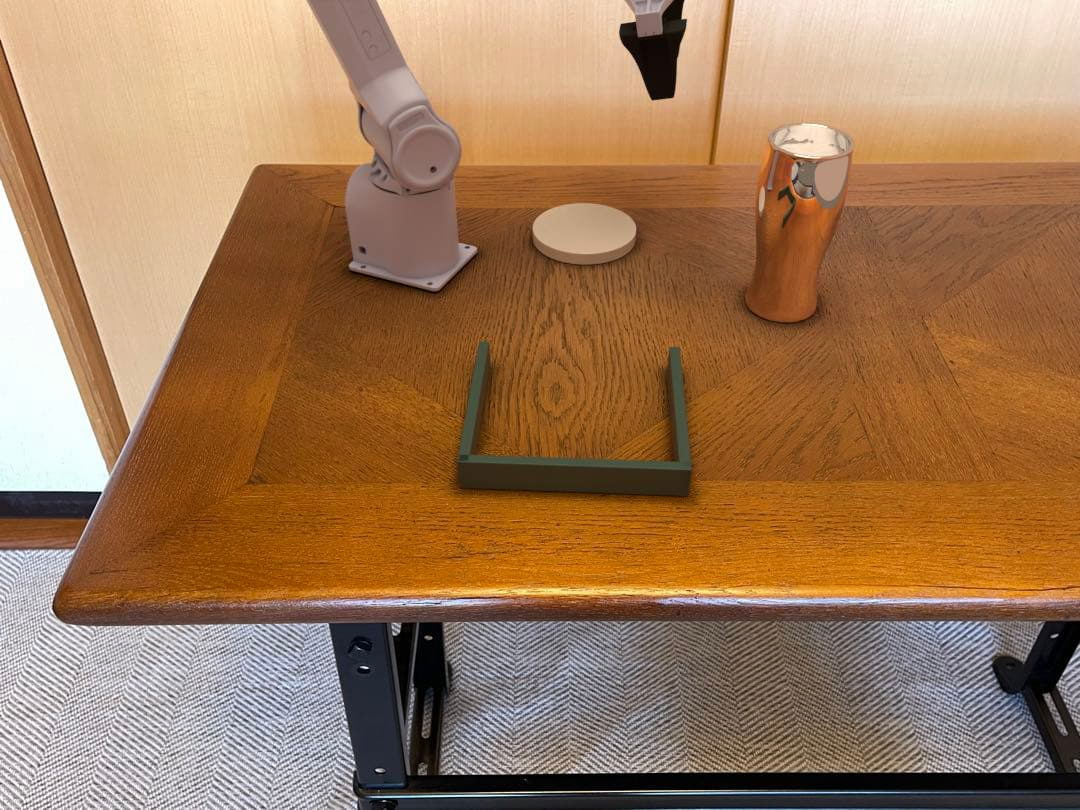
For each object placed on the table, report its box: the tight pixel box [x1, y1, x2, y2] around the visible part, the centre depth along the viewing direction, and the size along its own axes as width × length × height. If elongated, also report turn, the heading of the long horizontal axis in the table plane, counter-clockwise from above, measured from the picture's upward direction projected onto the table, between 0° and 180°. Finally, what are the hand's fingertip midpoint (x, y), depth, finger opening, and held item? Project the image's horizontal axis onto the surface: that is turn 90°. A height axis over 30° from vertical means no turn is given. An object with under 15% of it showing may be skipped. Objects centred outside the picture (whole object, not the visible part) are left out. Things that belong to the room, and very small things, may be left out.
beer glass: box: [744, 122, 856, 324], centre depth 76 cm, size 7×7×15 cm
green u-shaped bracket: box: [456, 341, 693, 497], centre depth 67 cm, size 14×16×2 cm
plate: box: [531, 202, 637, 266], centre depth 89 cm, size 10×10×1 cm
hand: (665, 76), depth 86 cm, fingers open, 7 cm apart
